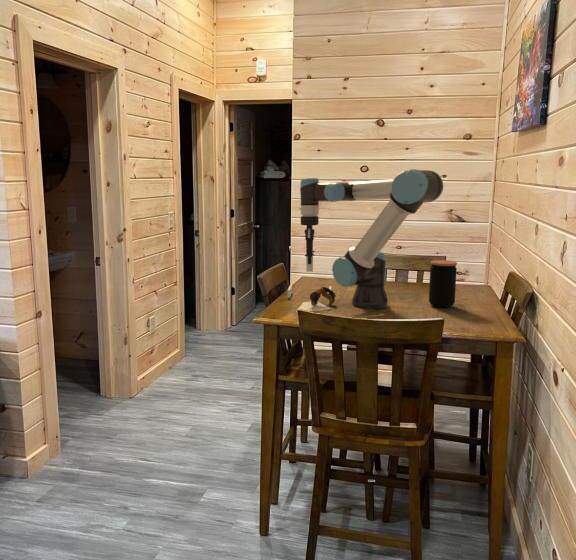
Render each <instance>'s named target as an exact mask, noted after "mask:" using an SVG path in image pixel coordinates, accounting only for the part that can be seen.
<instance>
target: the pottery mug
mask: <svg viewBox="0 0 576 560" xmlns="http://www.w3.org/2000/svg"><path fill="white" fill-rule="evenodd" d="M321 296H322V297H324V298H326V299H327V300H328V301H329V303H328V306H329V307H332V305H333V304H334V303H335V301H336V297H337V295H336V293H335V292H334V291H333V290H332V289H331V290H330V289H329V287H326V286H320V288H317V289H316V290H315V291H313V292H311V293H310V295H309V300H310V302H311V304H312V305H313V304H317V302H318V301H319V299H320V298H321Z"/></svg>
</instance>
